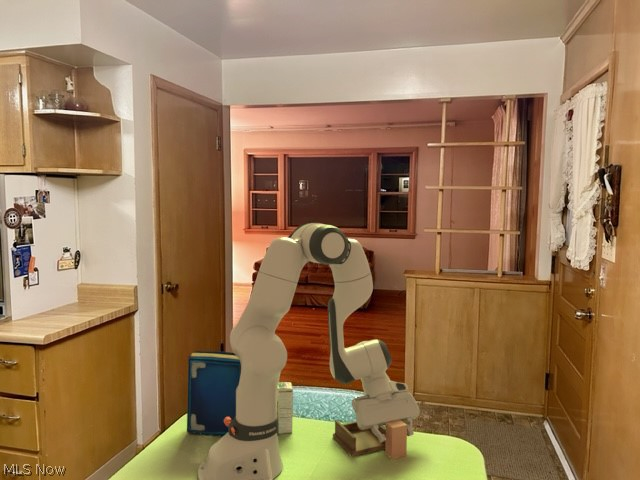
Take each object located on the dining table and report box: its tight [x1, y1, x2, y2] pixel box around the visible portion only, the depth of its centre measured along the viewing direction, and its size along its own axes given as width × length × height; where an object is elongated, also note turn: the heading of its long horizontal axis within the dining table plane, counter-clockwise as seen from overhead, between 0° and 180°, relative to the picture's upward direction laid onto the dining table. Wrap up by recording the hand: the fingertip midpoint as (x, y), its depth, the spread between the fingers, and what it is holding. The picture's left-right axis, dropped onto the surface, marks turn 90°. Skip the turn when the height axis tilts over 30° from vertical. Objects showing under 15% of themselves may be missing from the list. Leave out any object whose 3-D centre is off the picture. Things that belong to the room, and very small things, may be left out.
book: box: [186, 350, 241, 437], centre depth 142 cm, size 22×7×25 cm, turn 84°
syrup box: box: [277, 381, 294, 435], centre depth 144 cm, size 6×6×14 cm
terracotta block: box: [384, 420, 408, 460], centre depth 130 cm, size 5×3×9 cm
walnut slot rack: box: [332, 419, 386, 457], centre depth 136 cm, size 13×12×5 cm
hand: (397, 438), depth 129 cm, fingers open, 8 cm apart
